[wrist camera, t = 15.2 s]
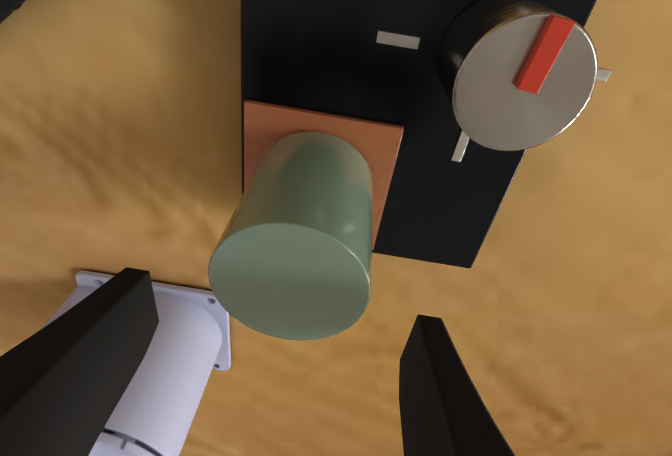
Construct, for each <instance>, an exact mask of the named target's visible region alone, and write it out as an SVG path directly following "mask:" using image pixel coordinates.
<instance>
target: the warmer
mask: <svg viewBox="0 0 672 456" xmlns="http://www.w3.org/2000/svg"><path fill="white" fill-rule="evenodd" d="M478 1H479V0H241V139H242V195H243V193H244V102H245V101H246V100H250V101H256V102H262V103H268V104H274V105H280V106H286V107H292V108H298V109H304V110H310V111H316V112H322V113H328V114H334V115H340V116H346V117H352V118H358V119H364V120H369V121H375V122H381V123H387V124H393V125H399V126H403V127H404V131H403V135H402V139H401V142H400V146H399V150H398V154H397V158H396V162H395V166H394V170H393V174H392V178H391V181H390V185H389V189H388V193H387V197H386V201H385V205H384V209H383V213H382V217H381V221H380V224H379V228H378V232H377V236H376V240H375V244H374V248H373V250H372V252H373V253H379V254H385V255H391V256H397V257H403V258H410V259H416V260H422V261H428V262H434V263H440V264H446V265H452V266H459V267H465V268H471V266H472V264H473V262H474V260H475V258H476V256H477V254H478V252H479V249H480V247H481V245H482V243H483V241H484V239H485V237H486V235H487V232H488V230H489V228H490V226H491V224H492V222H493V220H494V218H495V215H496V213H497V211H498V209H499V207H500V205H501V203H502V201H503V198H504V196H505V194H506V192H507V190H508V188H509V186H510V183H511V181H512V179H513V177H514V175H515V173H516V171H517V169H518V166H519V164H520V162H521V160H522V158H523V156H524V154H525V152H526V149H523V150H517V151H499V150H494V149H489V148H486V147H483V146H481V145H479V144H477V143H476V142H474V141H473V140H471V139H470V138H469V137H468V136H467V135H466V134H465V133H464V132H463V131H462V129H461V128H460V126H459V125H458V123H457V121H456V118H455V116H454V113H453V111H452V108H451V106H450V103H449V101H448V98H447V96H446V93H445V91H444V88H443V86H442V83H441V81H440V78H439V73H438V54H439V49H440V46H441V42H442V40H443V38H444V35H445V33H446V32H447V30H448V28H449V27H450V25H451V24H452V23H453V21H454V20H455V19H456V18H457V17H458V16H459V15H460V14H461V13H462V12H463V11H464V10H465V9H466V8H468V7H469V6H471V5H472V4H474V3H476V2H478ZM532 1H535V2H537V3H539V4H541V5H543V6H545V7H547V8H549V9H552V10H554V11H556V12H558V13H560V14H562V15H564V16H567V17H569V18H570V19H572V20H574V21H576V22H577V23H578V24H579V25H581V26H582V27H583V28H584V26H585V24H586V22H587V20H588V17H589V15H590V13H591V11H592V9H593V7H594V5H595V3H596V0H532ZM610 73H611V70H609V69H604V68H598V71H597V78H596V80H599V81H605V82H606V81H607V79H608V77H609V75H610Z"/></svg>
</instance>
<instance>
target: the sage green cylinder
mask: <svg viewBox="0 0 672 456" xmlns="http://www.w3.org/2000/svg"><path fill="white" fill-rule="evenodd" d="M372 218H373V179H372V174H371V171H370V168H369V166H368V164H367V162H366V161H365V159H364V158H363V156H362V155H361V154H360V153H359V152H358V151H357V150H356V149H355V148H354V147H353V146H352V145H350V144H349V143H347V142H346V141H344V140H342V139H340V138H338V137H336V136H333V135H330V134H326V133H322V132H299V133H295V134H291V135H288V136H286V137H283V138H281V139H280V140H278V141H277V142H275V143H274V144H273V145H272V146H270V147H269V149H268V150H267V151H266V152H265V153H264V155H263V157H262V158H261V160H260V162H259V164H258V166H257V168H256V170H255V172H254V174H253V176H252V178H251V180H250V182H249V183H248V185H247V187H246V189H245V191H244V193H243V195H242V197H241V199H240V201H239V203H238V205H237V207H236V209H235V211H234V213H233V215H232V216H231V218H230V220H229V222H228V224H227V226H226V228H225V230H224V232H223V234H222V236H221V238H220V240H219V242H218V244H217V246H216V248H215V249H214V251H213V254H212V256H211V258H210V262H209V267H208V276H209V282H210V286H211V289H212V291H213V293H214V295H215V297H216V299H217V300H218V302H219V303H220V305H221V306H222V307H223V308H224V309H225V310H226V311H227V312H228V313H229V314H230V315H231V316H232V317H234V318H235V319H236V320H238V321H239V322H241V323H242V324H244V325H246V326H247V327H249V328H251V329H253V330H255V331H258V332H260V333H263V334H266V335H269V336H273V337H277V338H282V339H288V340H315V339H322V338H326V337H330V336H333V335H336V334H338V333H340V332H342V331H344V330H346V329H348V328H349V327H351V326H352V325H353V324H354V323H355V322H357V321H358V320H359V318H360V317H361V316H362V315H363V313H364V311H365V310H366V308H367V306H368V303H369V300H370V294H371V259H372Z"/></svg>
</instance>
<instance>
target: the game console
mask: <svg viewBox="0 0 672 456" xmlns="http://www.w3.org/2000/svg"><path fill="white" fill-rule="evenodd" d="M24 1H25V0H0V23H1V22H2V21H3V20H5V19H6V18H7V17H8V16H9V15H10V14H11V13H12V11H13V10H17V9H18V8H20V6H21V5H22V3H23V2H24Z"/></svg>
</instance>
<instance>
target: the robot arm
mask: <svg viewBox="0 0 672 456" xmlns="http://www.w3.org/2000/svg"><path fill="white" fill-rule="evenodd" d="M75 279H76V282H77V285H78V286H77V287H76V288H75V289H74V291H73V292H72V293H71V294H70V295H69V297H68V298H67V299H66V300H65V301H64V302H63V304H62V305H61V306H60V307H59V308H58V310H57V311H56V312H55V313H54V314H53V315H52V317H51V318H50V319H49V320H48V321H47V323H46V324H45V325H44V326H43V327H42V328H41V330H40V331H38V332H37V333H35V334H34V335H32V336H31V337H29V338H28V339H26V340H25V341H23V342H22V343H20V344H19V345H17V346H16V347H14V348H13V349H11V350H10V351H8V352H6V353H5V354H3V355H2V356H0V456H179V455H180V452H181V449H182V447H183V444H184V442H185V439H186V436H187V434H188V431H189V428H190V426H191V423H192V421H193V418H194V415H195V413H196V410H197V407H198V405H199V402H200V400H201V397H202V394H203V392H204V389H205V386H206V384H207V381H208V379H209V376H210V373H211V371H212V369H217V370H223V371H226V370H228V369H229V368H230V365H231V350H230V324H229V313H228V312H227V311H226V310H225V309H224V308H223V307H222V306H221V305H220V303H219V302H218V300H217V299H216V297H215V295H214V293H213V291H208V290H202V289H196V288H189V287H183V286H177V285H171V284H165V283H158V282H152V281H151V277H150V272H149V271H145V270H139V269H133V268H127V267H126V268H125V269H124V270H122V271H121V272H119V273H118V274H117V275H109V274H102V273H96V272H90V271H79V272H78V273H77V274H76V276H75ZM211 298H212V299H211ZM399 403H400V415H401V426H402V438H403V449H404V456H515V454H514V453H513V451H512V450H511V448H510V447H509V445H508V443H507V442H506V440H505V439H504V437H503V435H502V434H501V432H500V430H499V429H498V427H497V425H496V424H495V422H494V420H493V419H492V417H491V415H490V413H489V412H488V410H487V408H486V406H485V405H484V403H483V401H482V399H481V397H480V395H479V394H478V392H477V390H476V388H475V386H474V384H473V382H472V381H471V379H470V377H469V375H468V373H467V371H466V369H465V367H464V365H463V363H462V361H461V359H460V357H459V355H458V353H457V351H456V349H455V346H454V344H453V342H452V340H451V338H450V336H449V334H448V331H447V329H446V327H445V325H444V322H443V321H442V319H441V318H437V317H430V316H424V315H418V316H417V318H416V321H415V323H414V326H413V328H412V331H411V333H410V336H409V338H408V341H407V343H406V346H405V348H404V351H403V353H402V356H401V358H400V374H399Z"/></svg>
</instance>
